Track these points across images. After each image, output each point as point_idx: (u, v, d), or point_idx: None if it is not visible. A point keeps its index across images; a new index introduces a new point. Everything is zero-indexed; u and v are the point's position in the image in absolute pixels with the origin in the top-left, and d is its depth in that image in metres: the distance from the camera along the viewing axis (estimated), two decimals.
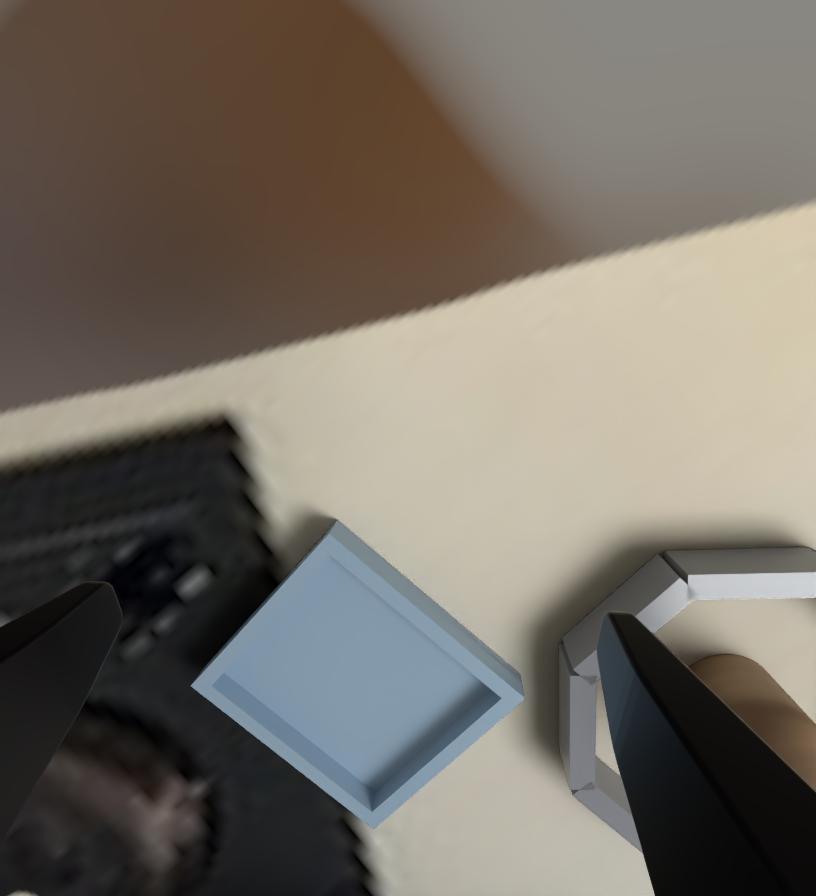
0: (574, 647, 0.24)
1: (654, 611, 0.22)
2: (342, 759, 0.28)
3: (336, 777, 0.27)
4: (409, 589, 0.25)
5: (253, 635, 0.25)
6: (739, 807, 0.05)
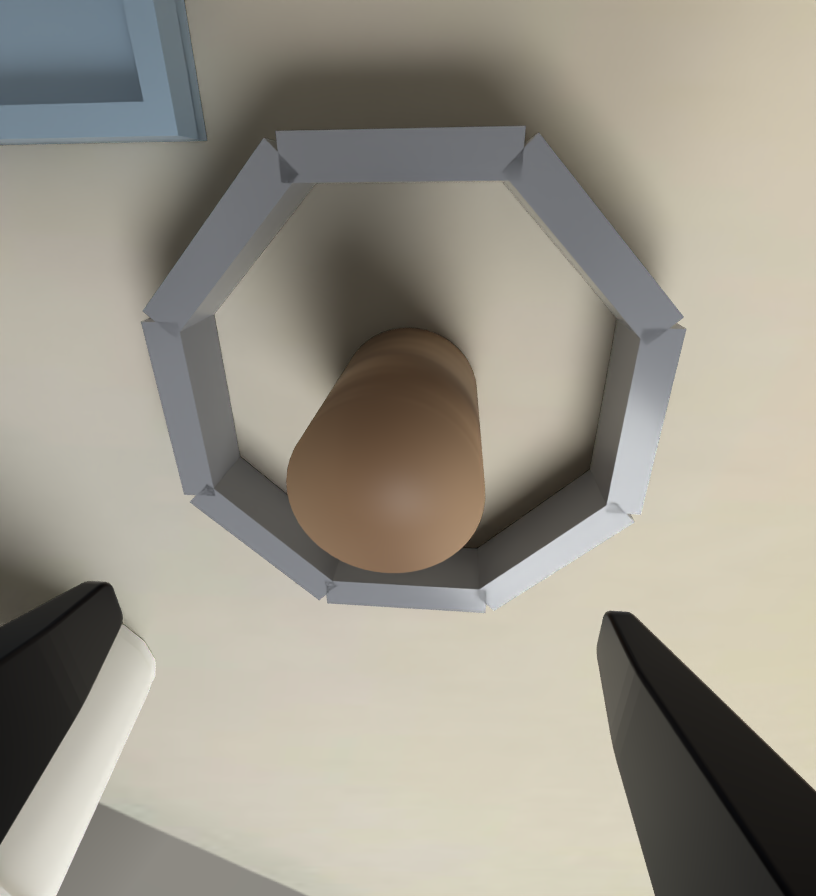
0: None
1: (451, 146, 0.13)
2: None
3: None
4: None
5: None
6: (739, 807, 0.05)
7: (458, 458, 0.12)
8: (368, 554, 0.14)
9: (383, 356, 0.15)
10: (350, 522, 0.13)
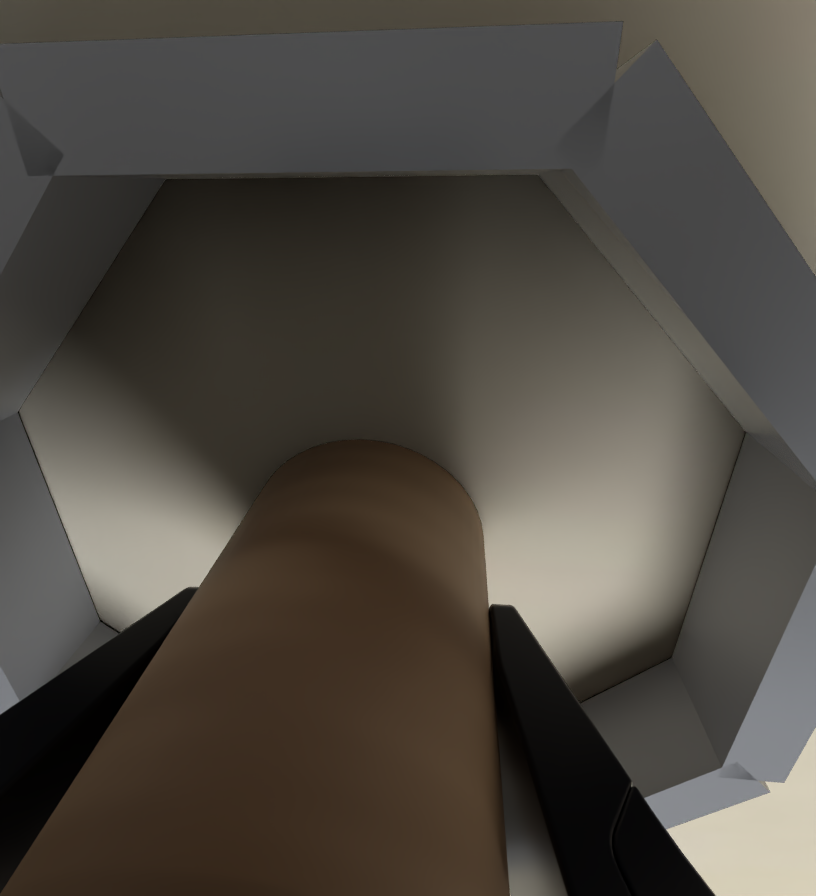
0: None
1: (427, 80, 0.05)
2: None
3: None
4: None
5: None
6: (547, 790, 0.05)
7: None
8: None
9: (288, 547, 0.07)
10: None
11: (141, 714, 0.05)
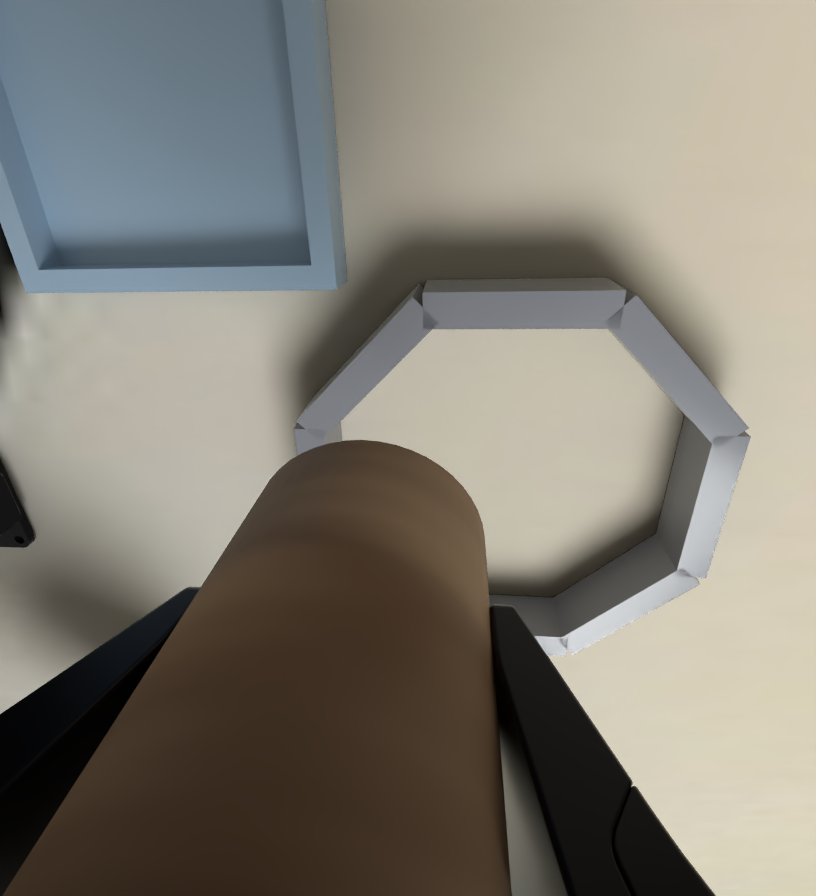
0: (438, 285, 0.17)
1: (565, 304, 0.16)
2: (45, 183, 0.18)
3: (18, 187, 0.17)
4: (319, 10, 0.15)
5: None
6: (548, 791, 0.05)
7: None
8: None
9: (290, 548, 0.07)
10: None
11: (143, 715, 0.05)
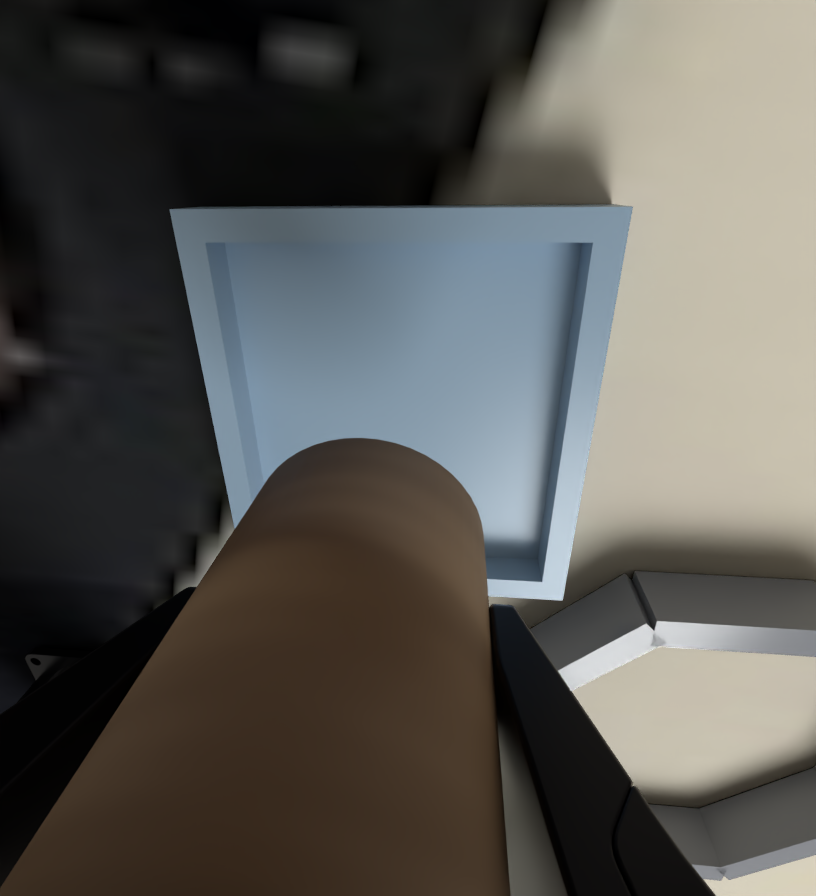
0: (659, 596, 0.18)
1: (796, 638, 0.17)
2: None
3: None
4: None
5: (351, 235, 0.13)
6: (548, 790, 0.05)
7: None
8: None
9: (287, 545, 0.07)
10: None
11: (139, 713, 0.05)
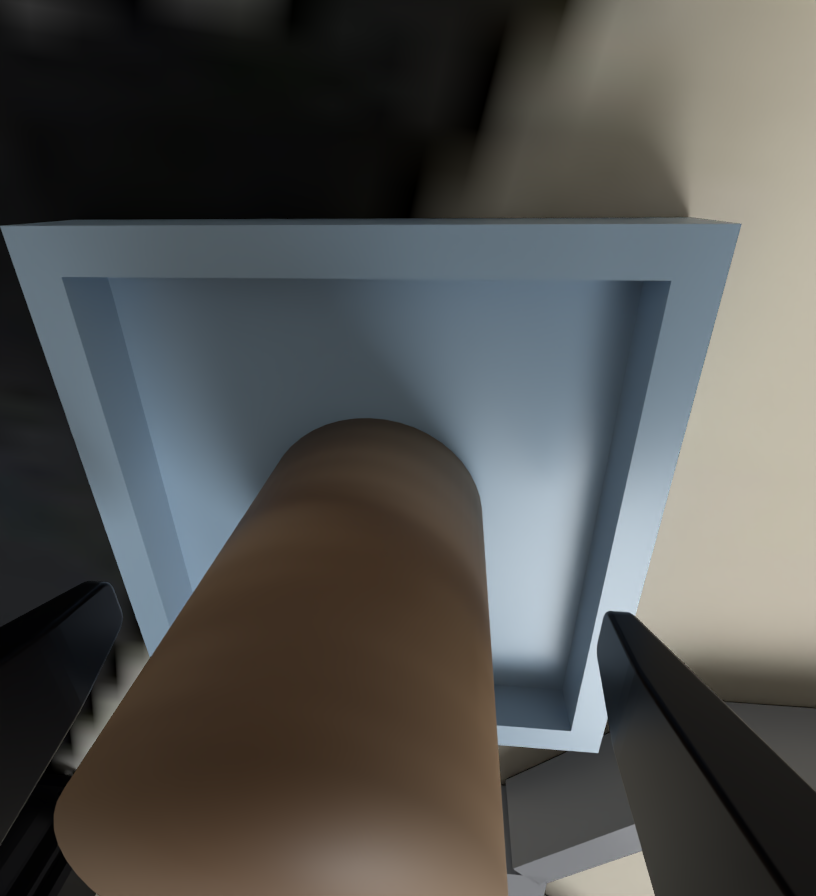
0: None
1: None
2: None
3: None
4: None
5: (286, 267, 0.08)
6: (739, 807, 0.05)
7: (443, 845, 0.05)
8: None
9: (305, 507, 0.08)
10: None
11: (183, 638, 0.06)
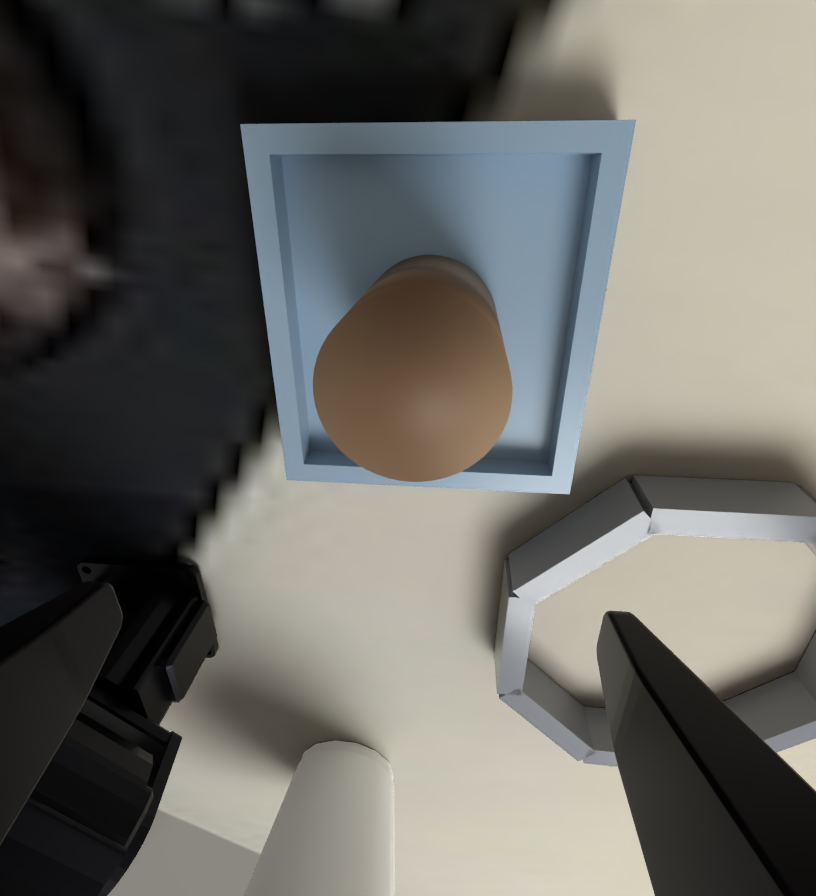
0: (655, 492, 0.20)
1: (775, 524, 0.19)
2: None
3: (299, 402, 0.20)
4: None
5: (396, 147, 0.15)
6: (739, 807, 0.05)
7: (486, 353, 0.12)
8: (393, 461, 0.14)
9: (407, 270, 0.15)
10: (376, 427, 0.13)
11: (364, 298, 0.13)
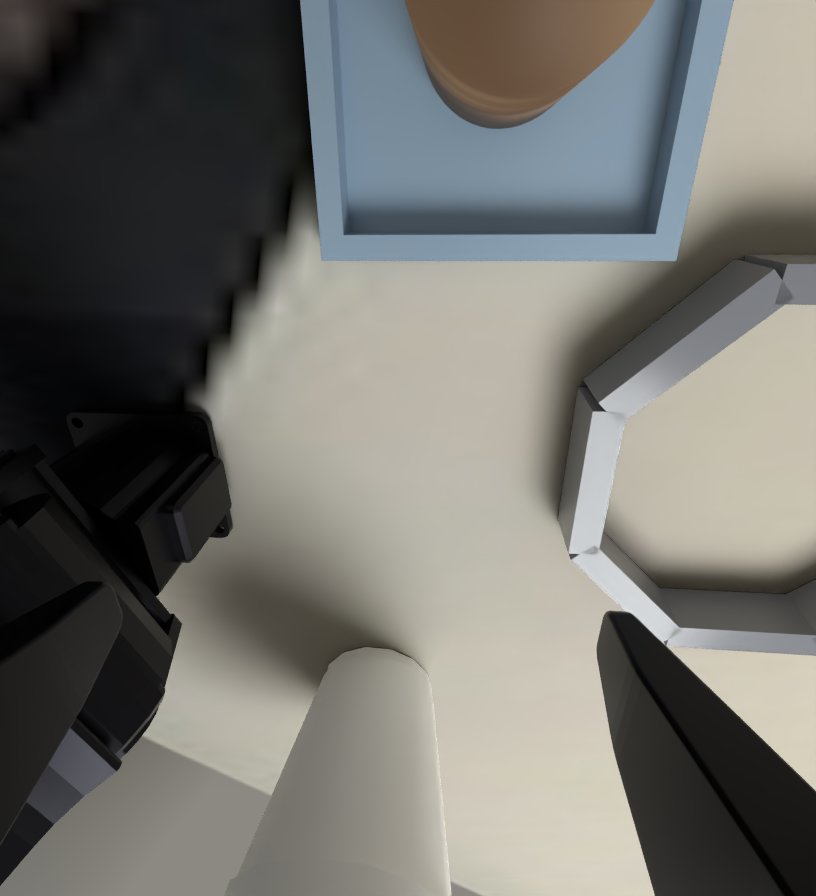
0: (781, 259, 0.16)
1: None
2: (356, 142, 0.16)
3: (339, 144, 0.16)
4: None
5: None
6: (739, 807, 0.05)
7: None
8: (500, 57, 0.10)
9: None
10: None
11: None
